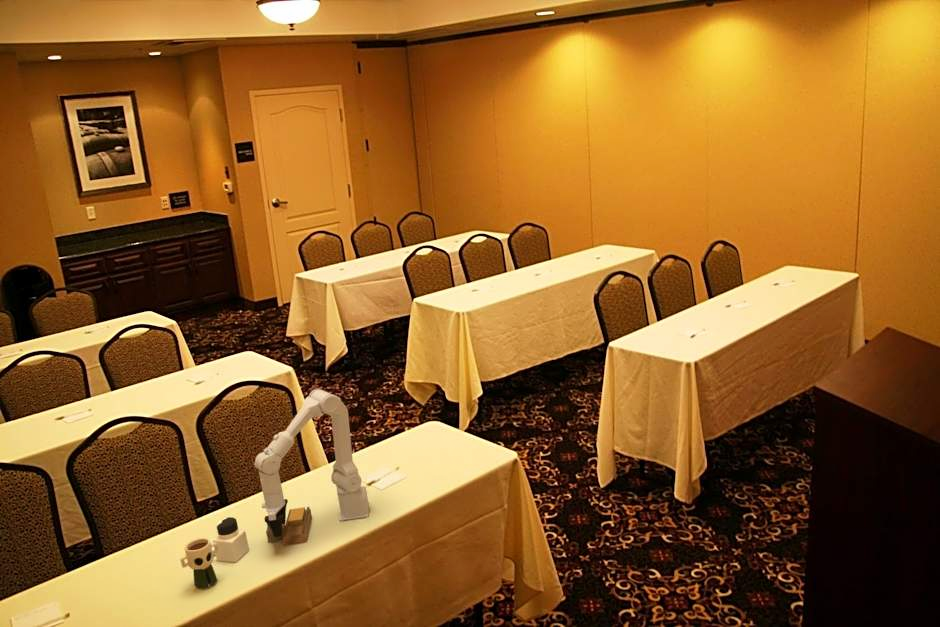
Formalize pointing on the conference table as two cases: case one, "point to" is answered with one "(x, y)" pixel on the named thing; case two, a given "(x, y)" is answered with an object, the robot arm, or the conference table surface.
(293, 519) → the wooden block
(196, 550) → the character mug
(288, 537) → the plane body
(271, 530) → the lever
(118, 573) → the conference table surface
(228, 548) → the medicine bottle
